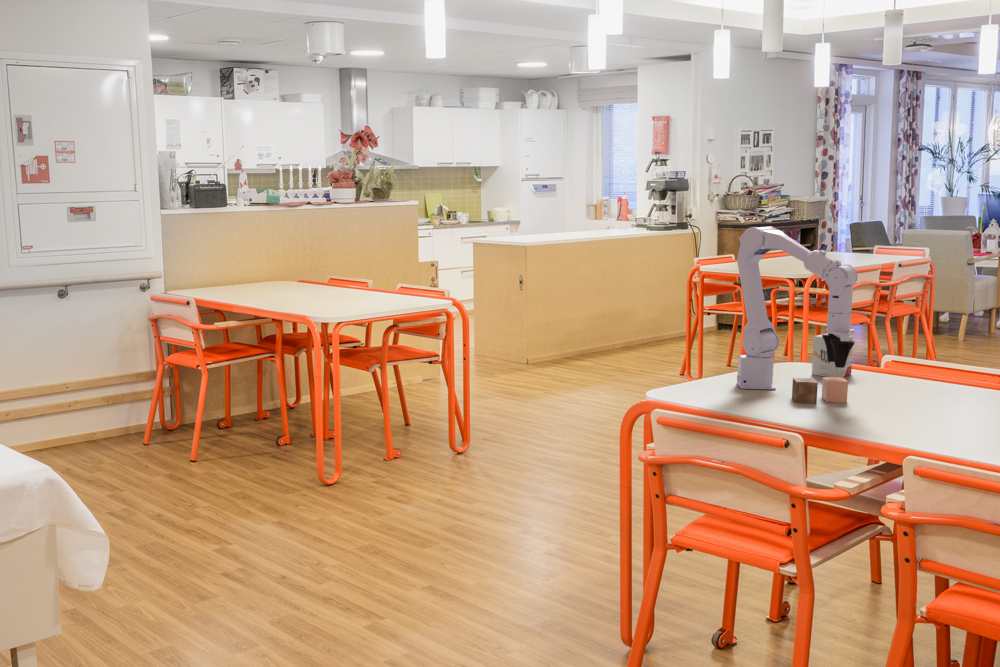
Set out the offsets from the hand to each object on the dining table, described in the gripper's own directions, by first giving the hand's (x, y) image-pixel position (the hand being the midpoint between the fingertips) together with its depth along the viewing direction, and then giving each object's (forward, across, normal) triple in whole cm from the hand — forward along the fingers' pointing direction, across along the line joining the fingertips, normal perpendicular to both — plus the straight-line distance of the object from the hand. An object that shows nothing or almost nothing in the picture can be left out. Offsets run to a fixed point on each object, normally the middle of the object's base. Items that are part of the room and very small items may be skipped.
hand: (836, 364), depth 243 cm
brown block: (+9, -2, +8) cm, 13 cm away
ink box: (+10, +34, -7) cm, 36 cm away
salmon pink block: (+9, 0, 0) cm, 9 cm away
